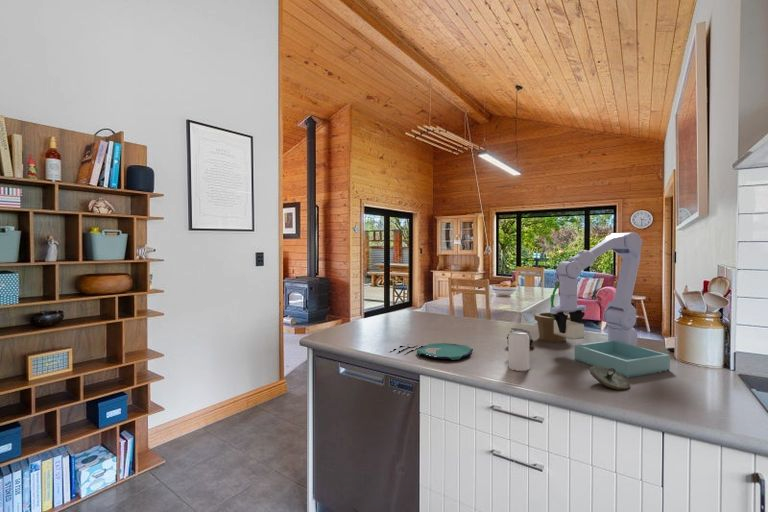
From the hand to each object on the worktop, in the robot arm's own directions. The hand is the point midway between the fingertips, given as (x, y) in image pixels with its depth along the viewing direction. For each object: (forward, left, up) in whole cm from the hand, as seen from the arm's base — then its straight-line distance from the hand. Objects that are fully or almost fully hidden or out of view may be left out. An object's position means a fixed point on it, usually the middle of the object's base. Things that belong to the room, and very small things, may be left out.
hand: (568, 332), depth 139 cm
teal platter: (+44, -22, -9) cm, 50 cm away
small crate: (0, 0, -2) cm, 2 cm away
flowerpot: (-11, -20, -9) cm, 25 cm away
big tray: (-7, +15, -8) cm, 18 cm away
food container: (+19, -1, -9) cm, 21 cm away
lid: (+11, +26, -9) cm, 30 cm away
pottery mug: (+8, -16, -9) cm, 20 cm away
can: (+26, +6, -9) cm, 28 cm away
